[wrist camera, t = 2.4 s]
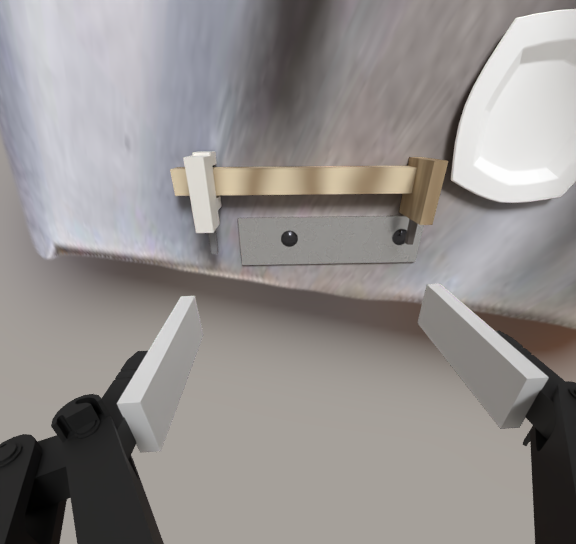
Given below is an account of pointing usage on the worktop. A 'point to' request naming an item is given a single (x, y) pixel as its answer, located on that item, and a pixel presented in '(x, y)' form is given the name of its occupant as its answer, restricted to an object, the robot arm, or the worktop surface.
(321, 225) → the hole plate
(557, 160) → the plate
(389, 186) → the beam
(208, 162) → the slider
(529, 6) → the worktop surface
